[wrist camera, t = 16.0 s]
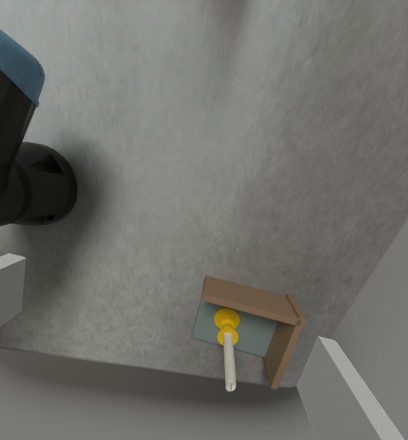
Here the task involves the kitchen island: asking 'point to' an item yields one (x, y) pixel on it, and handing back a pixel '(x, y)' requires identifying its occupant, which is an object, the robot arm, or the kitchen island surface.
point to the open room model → (253, 322)
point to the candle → (228, 341)
